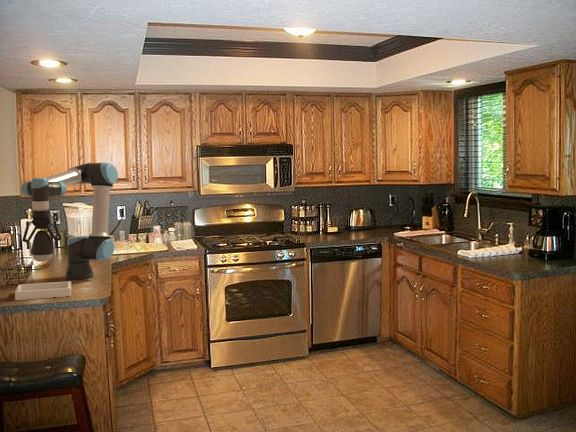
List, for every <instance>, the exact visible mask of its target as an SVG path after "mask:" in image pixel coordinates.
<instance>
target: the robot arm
mask: <svg viewBox="0 0 576 432" xmlns="http://www.w3.org/2000/svg"><path fill="white" fill-rule="evenodd" d="M117 170H118V169H117V168H116V167H115V165H114V164H112V163H110V162H87V163H83V164H79V165H76V166H73V167H70V168H68V169H67V170H66V171H63V172H60V173H57V174H54V175H49V176H47V177H33V178H32V179H31V180H29V181H24V182H22V183H21V186H20V191H21V194H22V195H23V196H25V197H31V205H32V206H31V208H32V220H31V221H28V220H27V221H25V229H24V233H23V236H22V242H24V243H25V244H26V250H29V251H28V252H29V257H33V256H32V254H31V250H32V242H31V240H32V237H33V236H35V234H36V233H35V232H37V230H46V231H47V233H48V234H49V236H50V237H51V238H52V239H53V241H52V244H53V249H54V253H53V256H55V255H56V254H57V253H56V249H57V248H58V247H59V244H58V243H59V241H61V240H62V235H61V234H60V230H59V228H58V225H57V223H58V222H57V220H56V219H54V220H51V218H50V210H49V209H50V200H49V199H50V198H52V197H53V198H54V197H59V198H60V197H61V196H65V194H66V193H67V187H68V186H71V185H80V184H87V185H88V184H90V186H91V187H90V188H92V189H93V194H92V195H93V201H92V217H91V218H92V220H91V232H90V233H89V235H81V236H74V237H70V238H68V239H67V241H66V242H67V243H66V248H67V249H66V251H67V267H66V271H65V274H64V276H65V277H64V278H65V280H74V281H75V280H85V279H90V278H93V277H94V271H93V267H92V266H91V261H108V260H110V258H111V257H112V256H113V255H114V252H115V243H114V240H112V239H111V235H110V234H109V231H108V230H109V216H110V215H109V213H110V212H109V211H110V194H111V193H110V191H111V190H112V189H113V187H114V184H116V183H117V181H118V177H119V175H118V171H117ZM50 224H51V225H53V227H54V230H55V233H56V235H57V237H56V235H55V234H54V232H53V231H52V229H51V228H50ZM32 225H33V226H34V228H33V229H32V231H31V233H30V235H29V237H27V236H28V232H29V229H30V227H31V226H32Z"/></svg>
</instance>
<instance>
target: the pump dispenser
mask: <svg viewBox="0 0 576 432" xmlns="http://www.w3.org/2000/svg"><path fill="white" fill-rule="evenodd" d="M31 249H32V250H31V254H32V256H31V257H32V258H33V260H34V261H35V262H39V263H41V262H49V261H51V260H52V258H53V257H54V248H53V241H52V237H51V235H50V233H49V232H48V231H47V230H46V229H38V230H36V233H34V237H33V240H32V242H31Z"/></svg>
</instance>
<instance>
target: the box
mask: <svg viewBox="0 0 576 432" xmlns="http://www.w3.org/2000/svg"><path fill="white" fill-rule="evenodd" d="M66 296H69V297H71V296H72V281H71V280H70V281H58V282H57V281H56V282H54V281H53V282H42V283H40V282H39V283H24V284H18V286H17V287H16V289H15V291H14V300H15V301H25V300H26V301H29V300H41V298H42V299H52V298H53V297H56V298H67V297H66ZM28 299H29V300H28Z"/></svg>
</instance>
